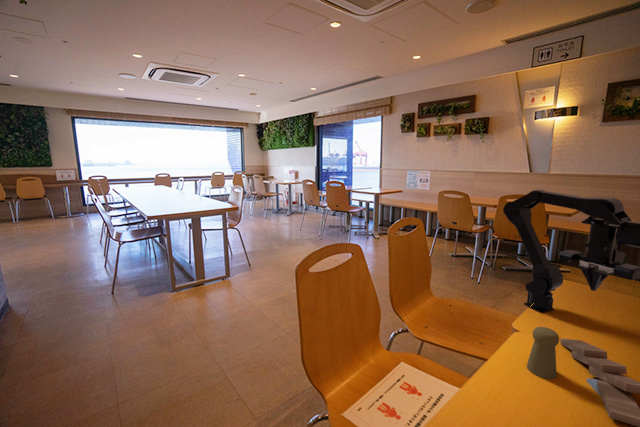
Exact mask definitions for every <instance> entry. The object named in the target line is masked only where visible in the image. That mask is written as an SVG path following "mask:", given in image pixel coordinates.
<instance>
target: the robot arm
mask: <svg viewBox="0 0 640 427" xmlns="http://www.w3.org/2000/svg"><path fill="white" fill-rule="evenodd" d="M539 204H546V205H551V206H556V207H561V208H566V209H571V210H575V211H579V212H581V213H582V214H584V215H587V216H588V217H587V218H585V219H584V220H582V221H581V224H584V225H585V224H586V225H590V226H589V230H588V231H589V233H588V239H587V242H585V243H584V247H586V252H585V254H584V253H583V252H581V251H578V250H574V249H568V250H561V251H560V252H559V254H558V260H559V261H562V262H565V263H569V262H571V261H572V260H573V261H577V262H579V264H578V265H577V269H580V270H581V272H582V274H583V275H584V277H585V280H586V281H587V284H588V286H589V289H590V290H591V291H593V292H596V291H597V290H598V289H599V287H600V286H601V285H602V283H603V282H604V281H605V279H606V278H607V277H609V276H610V275H615V276H616V277H619V278H621V279H625V280H629V281H634V280H638V279H640V266H637V265H634V264H630V263H623V262H624V260H625V256H626V254H627V253H626V252H623V251H620V250H618V245H617V244H615V243H616V242H615V241H617V242H619V244H620V245H624V246H629V247H634V248H640V222H637V221H632V219H631V218H630V216H629V215H628V214H627V213H626V211H625V210H624V204H623V203H622V201H621V200H620V199H619V198H615V197H600V196H599V197H582V196H578V195H577V196H576V195H572V194H566V193H565V194H564V193H561V192H559V193H558V192H552V191H549V190H548V191H547V190H544V189H535V190H534V189H532V190H531V191H530V192H528V193H527V194H525V195H523V196H520V197H519V198H517V199H515V200H513V201H508V202H507V203H505V204H504V205H503V208H502V211H503V213H504V215H505V217H506V218H507V220H508V221H509V222H510V223H511V224H512V225H513V226H514V227H515V228H516V230H517V233H518V235H519V237H520V240H521V242H522V244H523V247H524V249H525V252H526V253H527V255H528V258H529V260H530V263H531V266H532V267H531V276H532V281H530V282H528V283H526V284H524V287H525V289H526V290H525V291H526V292H527V299H526V302H524V303H523V305H524V306H525V307H528V308H530V306H531V305H532V304H533V303H534V304H533V305H532V306H531V308H530V309H532V310H534V311H537V312H539V313H547V312H549V311H553V310H555V308H554V307H553V305H554V298H553V296H554V294H553V293H552V292H554V291H555V290H556V289H557V288H560V287H562V285H563V284H564V279H563V278H564V277H565V275H563V273H562V272H561V268H560V266H559V265H558V264H556V265H553V263H551V262H550V261H549V260H548V257H547V255H546V253H545V250H544V248H543V245H542V244H541V242H540V239H539V237H538V235H537V232H536V230H535V229H534V226H533V224H532V214H533V213H532V211H531V210H532V209H533V208H535V207H536V206H538V205H539ZM615 263H619V264H615Z"/></svg>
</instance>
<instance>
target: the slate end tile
mask: <svg viewBox="0 0 640 427" xmlns="http://www.w3.org/2000/svg"><path fill="white" fill-rule="evenodd" d="M597 380H599V378H598V379H597V378H596V379H595V378H588V377H587V378H586V382H587V383H588V384H589V385H590V387H591V388H592V389H593V390H594V391H595V392H596V393H597V394H598V395H599V396H600V393H599V391H598V388H597V386H596V385H597ZM600 380H601V381H604V380H602V379H600ZM605 382H606V381H605ZM637 406H638V407H639V409H640V406H639V405H638V404H637Z"/></svg>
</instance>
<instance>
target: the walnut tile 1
mask: <svg viewBox="0 0 640 427" xmlns="http://www.w3.org/2000/svg"><path fill="white" fill-rule="evenodd" d="M559 341H560V345H561V346H563V347H565V348H567V349H569V350H571V351H575V352H577V353H579V354H581V355H583V356H587V357H597V358H607V359H608V352H607V351H606V350H604V349H601V348H599V347H597V346H594V345H592V344H590V343H588V342H585V341H583V340H582V339H581V340H580V339H571V338H560V337H559Z"/></svg>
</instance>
